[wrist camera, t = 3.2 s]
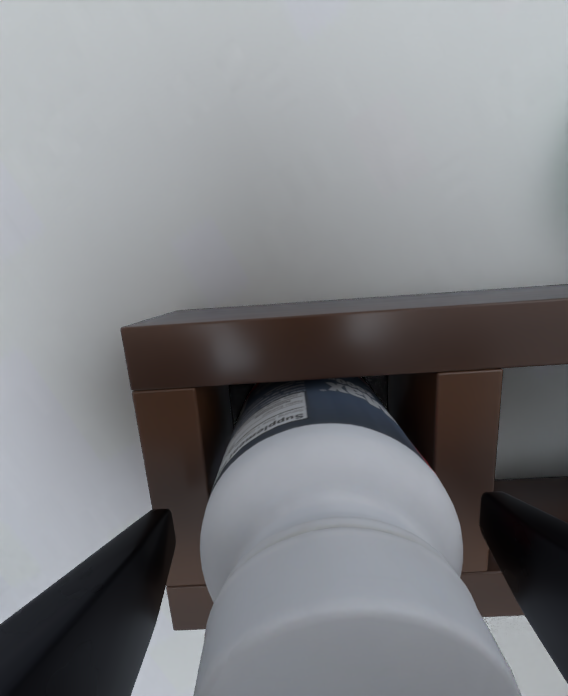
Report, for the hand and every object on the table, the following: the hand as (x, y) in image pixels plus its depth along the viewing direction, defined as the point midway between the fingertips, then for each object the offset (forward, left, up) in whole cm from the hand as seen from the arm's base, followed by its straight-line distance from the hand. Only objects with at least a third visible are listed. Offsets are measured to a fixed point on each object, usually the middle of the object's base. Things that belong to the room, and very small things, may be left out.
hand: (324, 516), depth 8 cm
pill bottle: (0, 0, -5) cm, 5 cm away
